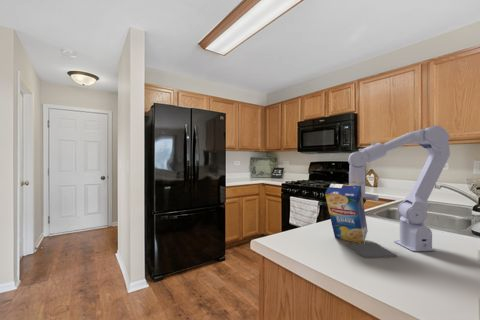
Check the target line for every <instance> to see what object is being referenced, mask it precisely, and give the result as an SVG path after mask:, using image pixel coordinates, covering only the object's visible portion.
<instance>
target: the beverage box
mask: <svg viewBox="0 0 480 320" xmlns="http://www.w3.org/2000/svg"><path fill="white" fill-rule="evenodd" d="M324 194H325V199H326V204H327V209H328V213H329V217H330V222H331V226H332V230H333V235H334V238H336V239H341V240H344V241H348V242H349V241H350V242H354V243H366V242H365V241H366V239H367V235H368V223H367V217H366V212H365V211H366V210H365V203H363V197H362V190H361V186H358V185H349V184H343V183H342V184H341V183H330V184H329V186H328V187H327V189H326V191H325V193H324Z"/></svg>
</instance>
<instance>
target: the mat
mask: <svg viewBox="0 0 480 320" xmlns="http://www.w3.org/2000/svg"><path fill="white" fill-rule="evenodd" d="M346 245H347V247H349V248H350V249H352V250H353V251H354V252H356V253H357V254H358V255H360V256H362V258H364V259H375V258H376V259H378V258H380V259H381V258H397V257H398V255H397V254H396V253H394V252H392V251H390V250H389V249H387V248H385V247H383V246H382V245H380V244H378V243H377V242H364V243H358V242H354V243H351V242H350V243H346Z"/></svg>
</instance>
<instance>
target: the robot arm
mask: <svg viewBox="0 0 480 320" xmlns="http://www.w3.org/2000/svg"><path fill="white" fill-rule="evenodd" d="M450 137H451V135H450V134H449V132H447V130H446V129H445V128H444V127H443V126H440V125H432V126H429V127H426V128H421V129H419V130H415V131H410V132H407V133H404V134H403V135H400V136H397V137H395V138H394V139H391V140H389V141H387V142H384V143H381V142H371V143H370V145H368V146H367V147H364V148H359V149H358V150H357V151H355V152H352V153H350V154H349V156H348V159H347V162H348V164H349V171H348V185H358V186H361V190H362V197H363V203H364V204H365V203H366V202H367V201H373V202H377V201H379V195H378V194H377V195H376V194H371V193H366V169H365V168H366V164H368V163H370V162H374V161H376V160H379V159H381V158H385V157H386V156H387V153H388V152H390V151H393V150H394V149H397V148H400V147H402V146H405V145H408V144H418V145H419V146H420V147H422V148H423V149H424V150H425V152H426V153H427V155H428V157H427V159H426V161H425V163H424V166H422V170H421V172H420V174H419V175H418V178H417V179H416V181H415V183H414V186H413V188H412V190H411V192H410V193H409V195H407V196H406V197H405V198H404V200H403V201H402V202H400V203H399V204H398V206H397V211H398V212H397V213H398V214H399V215H400V218H399V239H398V240H397V239H394V240H393V242H394V243H396V244H397V245H400V246H402V247H403V248H406V249H408V250H410V251H412V252H432V251H433V252H434V251H435V249H434V248H433V231H432V230H431V229H430V227H428V226H427V225H426V224H425V221H427V218H428V209H429V207H430V206H429V202H428V200H429V197H430V195H432V192H433V190H434V188H435V185H436V184H437V181H438V180H439V178H440V176H441V174H442V171H443V169H444V168H445V167H446V166H445V165H446V164H447V162H448V160H449V158H450V156H451V151H450V150H451V149H450V142H449V140H450Z"/></svg>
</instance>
